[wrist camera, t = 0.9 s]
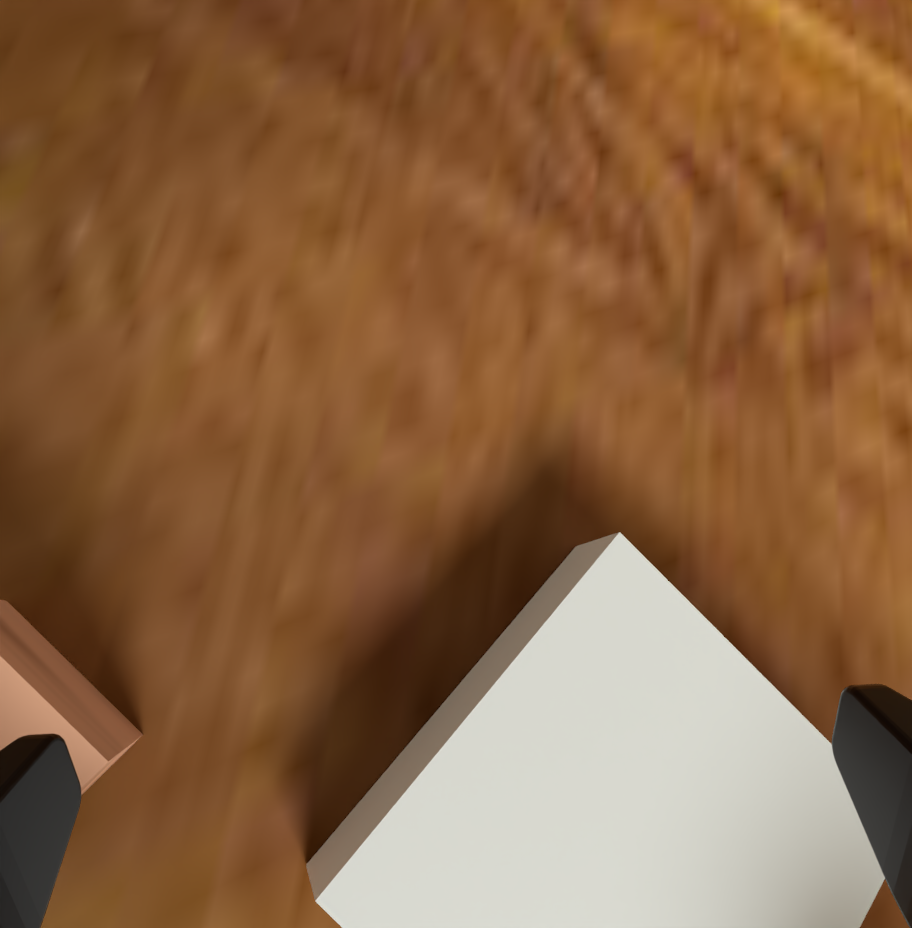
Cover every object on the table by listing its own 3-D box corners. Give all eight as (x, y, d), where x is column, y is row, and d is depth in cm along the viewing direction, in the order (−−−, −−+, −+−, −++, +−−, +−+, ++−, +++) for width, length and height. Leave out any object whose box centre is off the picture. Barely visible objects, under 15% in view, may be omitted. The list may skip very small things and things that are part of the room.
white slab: (623, 1176, 20) (686, 1264, 17) (306, 864, 19) (315, 901, 17) (834, 805, 24) (912, 825, 21) (575, 546, 24) (619, 531, 21)
